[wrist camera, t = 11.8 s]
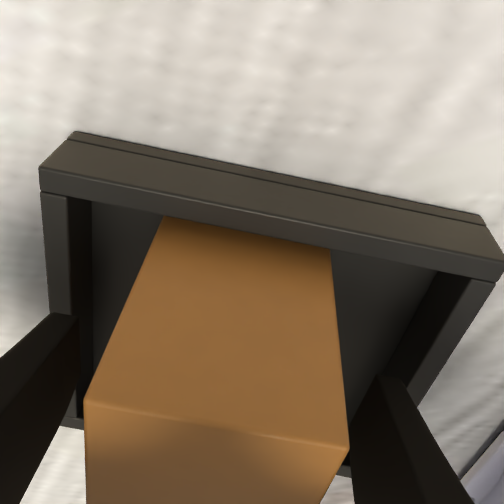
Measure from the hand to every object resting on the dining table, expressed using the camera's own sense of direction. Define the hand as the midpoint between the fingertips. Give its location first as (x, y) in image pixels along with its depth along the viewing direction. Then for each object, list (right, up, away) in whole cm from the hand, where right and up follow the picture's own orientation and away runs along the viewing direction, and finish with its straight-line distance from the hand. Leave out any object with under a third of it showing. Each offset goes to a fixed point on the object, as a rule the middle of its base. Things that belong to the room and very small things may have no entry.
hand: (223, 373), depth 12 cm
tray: (+1, +1, +3) cm, 3 cm away
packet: (0, +1, +2) cm, 2 cm away
